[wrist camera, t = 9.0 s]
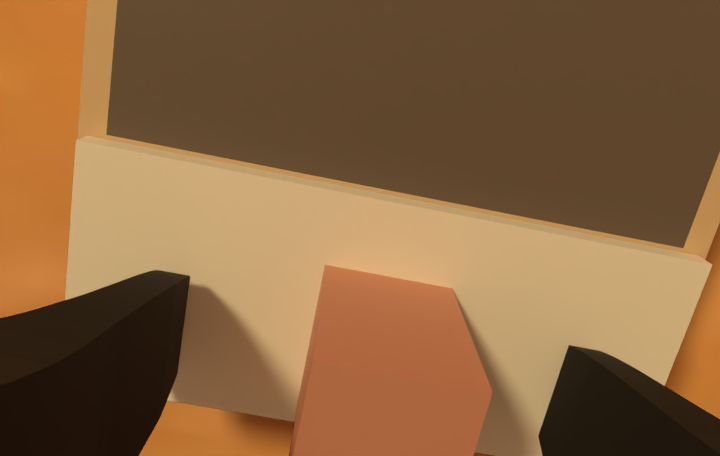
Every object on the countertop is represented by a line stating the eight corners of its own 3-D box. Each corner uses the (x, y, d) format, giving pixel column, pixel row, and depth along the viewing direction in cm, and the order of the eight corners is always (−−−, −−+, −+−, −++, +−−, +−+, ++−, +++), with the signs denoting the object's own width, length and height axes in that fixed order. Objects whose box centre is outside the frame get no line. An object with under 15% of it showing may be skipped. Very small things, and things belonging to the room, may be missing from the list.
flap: (617, 462, 13) (725, 635, 9) (70, 369, 12) (-56, 516, 9) (698, 255, 12) (862, 359, 8) (87, 135, 11) (-53, 187, 7)
